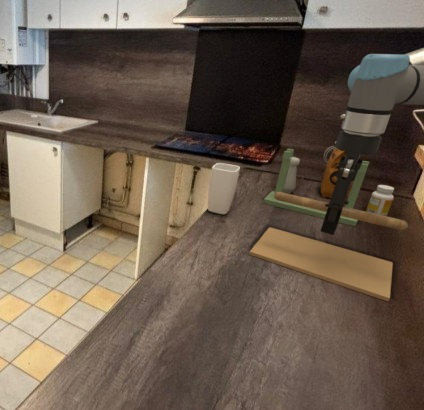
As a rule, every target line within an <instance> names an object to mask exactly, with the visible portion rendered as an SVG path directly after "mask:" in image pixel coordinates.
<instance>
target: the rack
mask: <svg viewBox="0 0 424 410" xmlns="http://www.w3.org/2000/svg"><path fill="white" fill-rule="evenodd" d="M294 152H295V149H292V148H287V149H286V150H284V151H283V155H282V161H281V166H280V169H279V174H278V176H277V177H278V178H277V181H276V186H275V189H274V190H271V191H270V192H269V193H268V194H267V195H266V196H265V197H264V198H263V201H262V203H263V204H264V205H269V206H272V207H277V208H281V209H284V210H288V211H292V212H296V213H300V214H305V215H308V216H312V217H316V218H320V219H324V218H325V215H326V212H324V211H320V210H315V209H311V208H307V207H303V206H299V205H295V204H291V203H287V202H283V201H279V200H276V199H275V198H274V194H275V193H276V192H283V189H284V185H285V181H286V178H287V174H288V170H289V166H290V162H291V158H290V157H294ZM369 165H370V161H366V160H363V162H362V165H361V167H360V169H359V170H358V172H357V175H356V177H355V180H354V182H353V185H352V188H351V191H350V194H349V197H348V198H347V200H346V201H349V203H348V205H346V204H345V205H344V207H348V208H352V209H354V207H355V205H356V201H357V199H358V196H359V193H360V190H361V187H362V185H363V182H364V179H365V176H366V173H367V170H368V167H369ZM358 221H359V220H356V219H352V218H348V217H344V216H340V219H339V222H338V224H343V225H346V226H347V225H348V226H352V227H356V226H357V223H358Z"/></svg>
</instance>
